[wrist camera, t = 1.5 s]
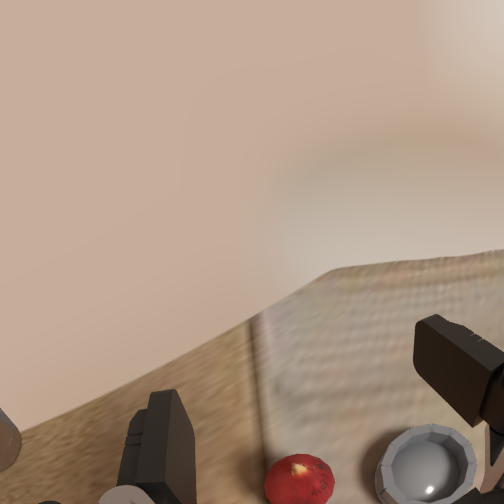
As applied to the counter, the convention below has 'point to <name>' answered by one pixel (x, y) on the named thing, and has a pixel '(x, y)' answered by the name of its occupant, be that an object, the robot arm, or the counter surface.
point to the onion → (299, 481)
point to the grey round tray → (425, 467)
